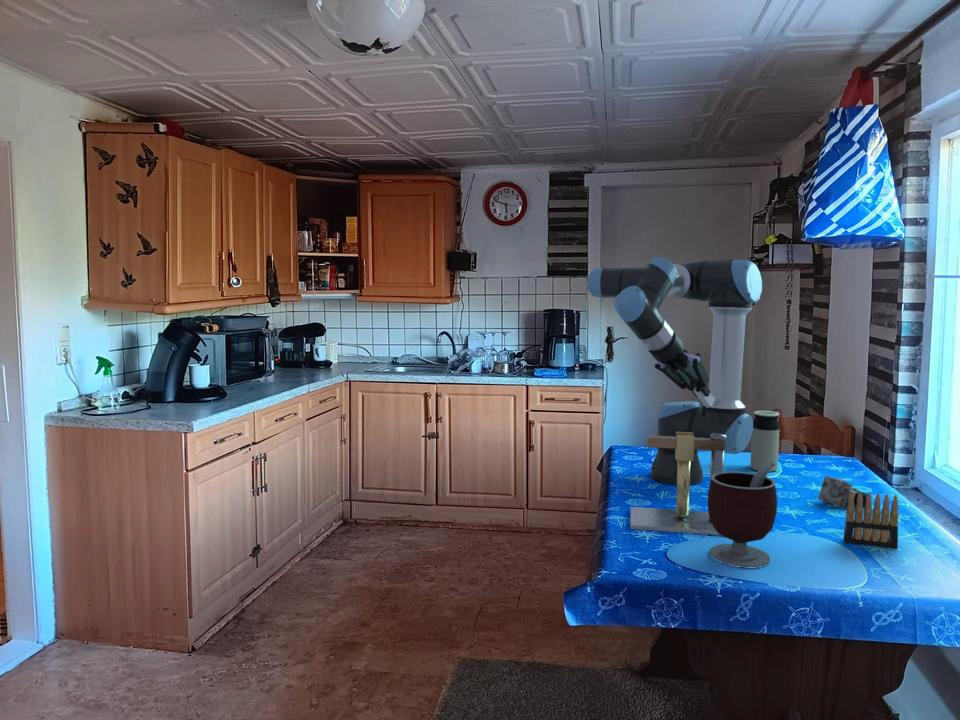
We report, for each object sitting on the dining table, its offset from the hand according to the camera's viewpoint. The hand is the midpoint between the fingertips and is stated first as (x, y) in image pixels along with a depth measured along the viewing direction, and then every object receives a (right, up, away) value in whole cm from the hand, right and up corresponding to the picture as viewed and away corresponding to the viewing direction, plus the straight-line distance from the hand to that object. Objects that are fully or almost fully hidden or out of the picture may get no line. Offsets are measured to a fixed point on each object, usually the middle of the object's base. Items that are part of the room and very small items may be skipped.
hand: (710, 403), depth 182 cm
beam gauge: (-9, -29, -6) cm, 31 cm away
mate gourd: (-2, -32, -27) cm, 42 cm away
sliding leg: (-9, -28, -5) cm, 29 cm away
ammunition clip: (+30, -31, -20) cm, 47 cm away
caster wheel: (+39, -28, +11) cm, 49 cm away
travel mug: (+31, -24, +45) cm, 59 cm away
